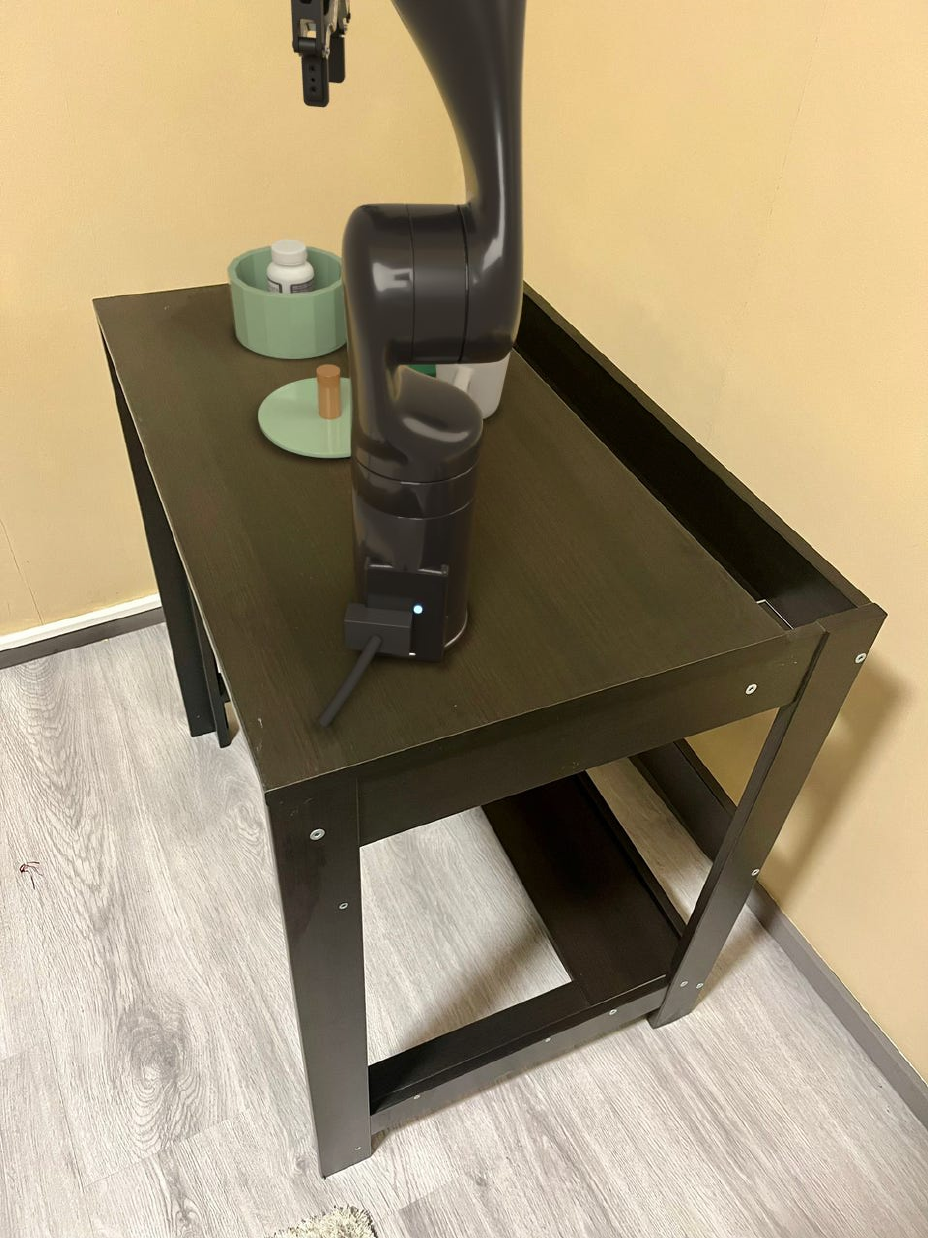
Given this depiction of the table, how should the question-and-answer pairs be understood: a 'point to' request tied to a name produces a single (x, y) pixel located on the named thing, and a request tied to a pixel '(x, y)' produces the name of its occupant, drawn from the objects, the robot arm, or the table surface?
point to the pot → (287, 307)
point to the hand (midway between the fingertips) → (325, 93)
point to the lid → (310, 415)
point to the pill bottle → (290, 268)
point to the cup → (477, 381)
